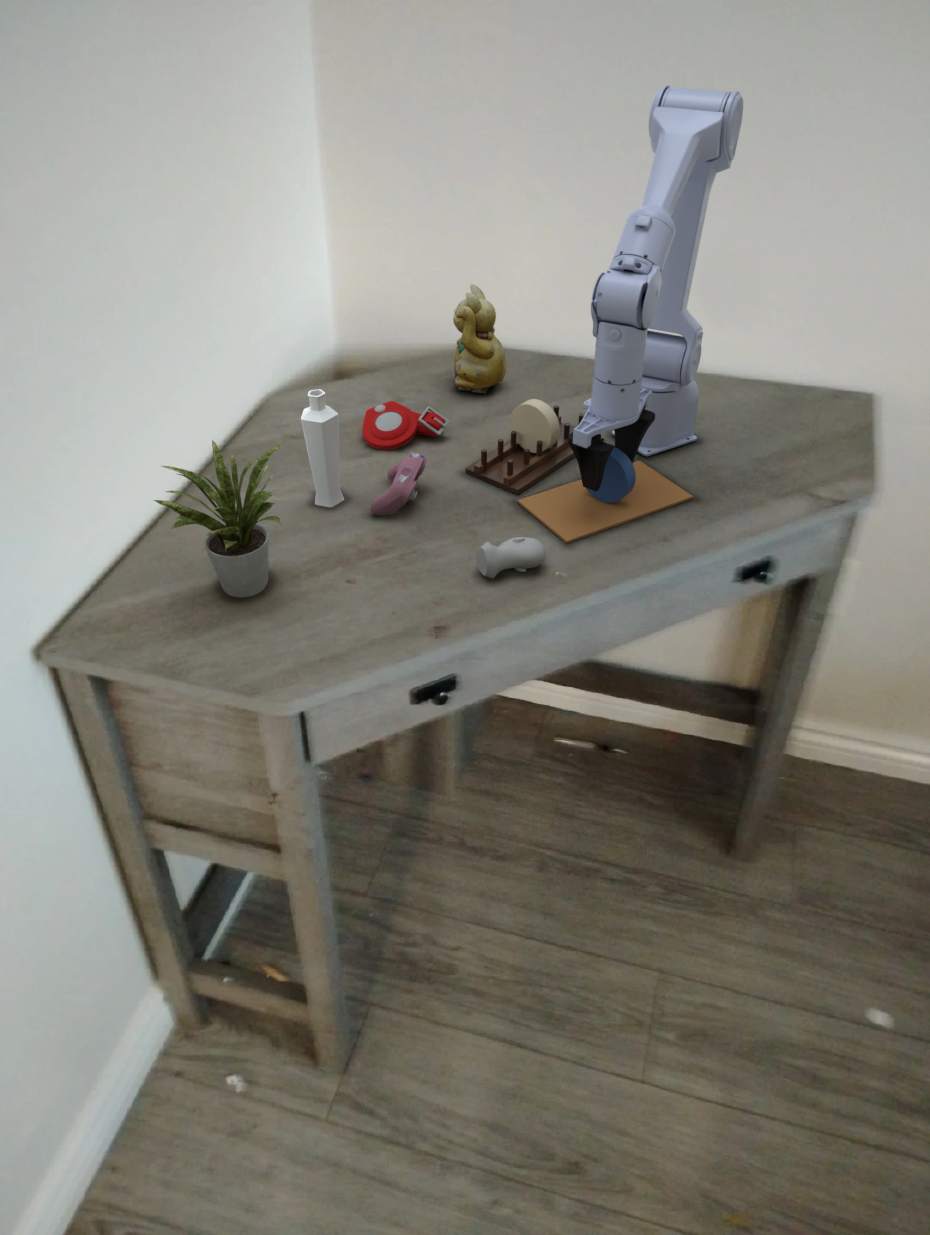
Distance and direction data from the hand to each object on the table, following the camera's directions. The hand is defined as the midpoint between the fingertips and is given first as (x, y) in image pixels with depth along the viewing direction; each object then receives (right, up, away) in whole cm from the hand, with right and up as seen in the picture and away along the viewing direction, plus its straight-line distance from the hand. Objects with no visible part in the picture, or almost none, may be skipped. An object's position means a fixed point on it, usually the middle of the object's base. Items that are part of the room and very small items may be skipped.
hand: (607, 475), depth 118 cm
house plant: (-43, -13, -10) cm, 46 cm away
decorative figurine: (-16, +25, +25) cm, 38 cm away
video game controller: (-26, -3, +3) cm, 27 cm away
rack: (-9, +4, +11) cm, 15 cm away
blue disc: (0, 0, 0) cm, 0 cm away
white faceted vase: (-36, -3, +3) cm, 36 cm away
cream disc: (-9, +8, +9) cm, 15 cm away
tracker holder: (-27, +8, +16) cm, 33 cm away
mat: (0, -3, +2) cm, 4 cm away
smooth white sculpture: (-13, -12, -9) cm, 20 cm away
